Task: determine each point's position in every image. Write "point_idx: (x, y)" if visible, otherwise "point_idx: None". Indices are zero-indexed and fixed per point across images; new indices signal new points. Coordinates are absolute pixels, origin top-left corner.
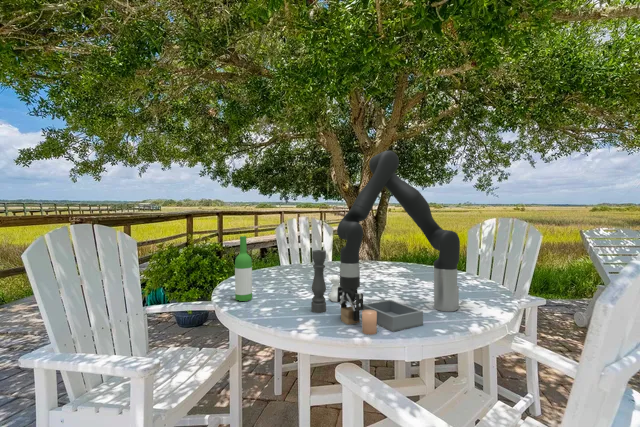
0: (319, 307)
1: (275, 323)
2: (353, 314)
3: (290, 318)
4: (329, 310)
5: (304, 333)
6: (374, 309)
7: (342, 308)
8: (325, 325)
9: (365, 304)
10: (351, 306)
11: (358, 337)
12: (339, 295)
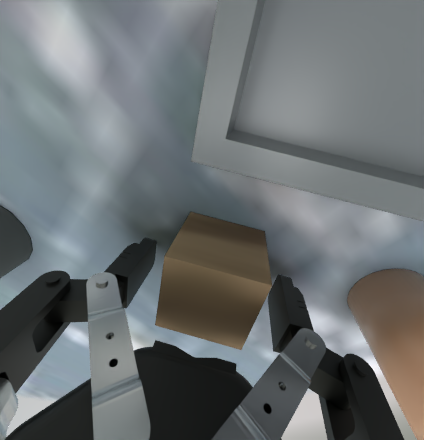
0: (5, 270)
1: (83, 382)
2: (273, 328)
3: (57, 344)
4: (6, 192)
5: None
6: (408, 214)
7: (168, 327)
8: (183, 334)
9: (213, 134)
10: (169, 265)
11: (370, 356)
12: (34, 366)
